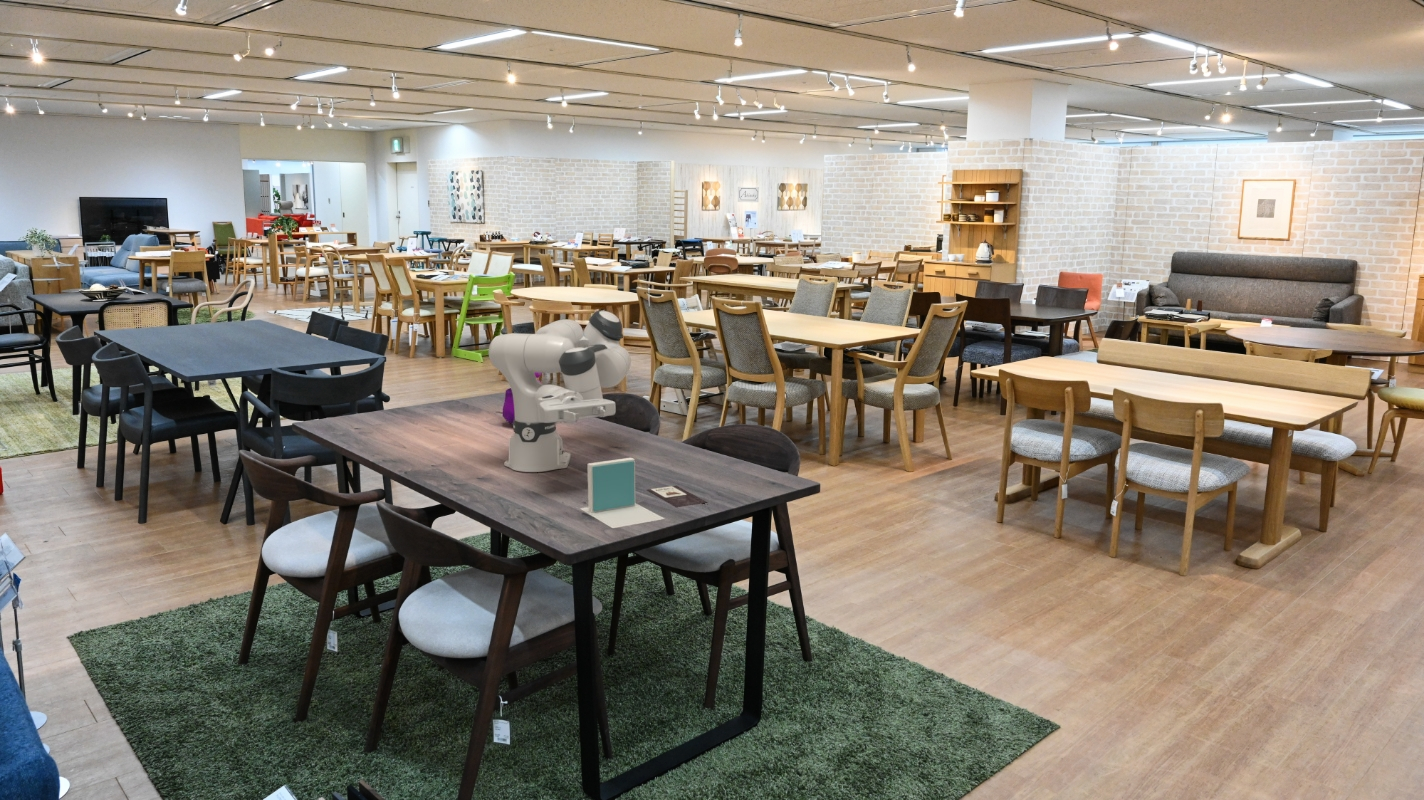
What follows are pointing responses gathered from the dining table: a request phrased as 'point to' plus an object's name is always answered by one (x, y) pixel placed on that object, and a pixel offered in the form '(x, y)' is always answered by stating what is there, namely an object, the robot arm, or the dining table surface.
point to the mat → (624, 516)
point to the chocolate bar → (676, 496)
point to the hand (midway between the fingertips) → (589, 415)
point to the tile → (611, 484)
